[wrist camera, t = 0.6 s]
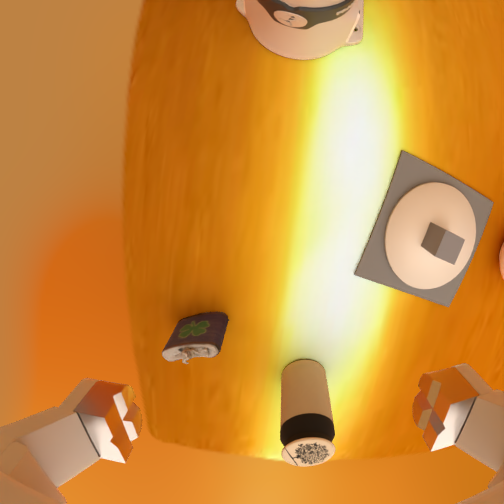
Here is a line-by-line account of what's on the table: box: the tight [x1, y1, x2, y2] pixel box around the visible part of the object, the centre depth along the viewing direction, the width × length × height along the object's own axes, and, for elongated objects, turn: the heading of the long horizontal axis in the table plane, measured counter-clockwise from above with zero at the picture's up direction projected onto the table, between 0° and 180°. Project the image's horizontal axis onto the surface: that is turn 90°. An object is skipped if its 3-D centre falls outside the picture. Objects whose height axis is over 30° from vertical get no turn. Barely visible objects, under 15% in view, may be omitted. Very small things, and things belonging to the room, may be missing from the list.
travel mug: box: [280, 360, 335, 466], centre depth 43 cm, size 8×8×18 cm
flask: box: [162, 312, 229, 364], centre depth 45 cm, size 9×3×11 cm, turn 105°
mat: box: [354, 151, 493, 307], centre depth 42 cm, size 20×20×1 cm
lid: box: [384, 182, 476, 289], centre depth 39 cm, size 17×17×6 cm
